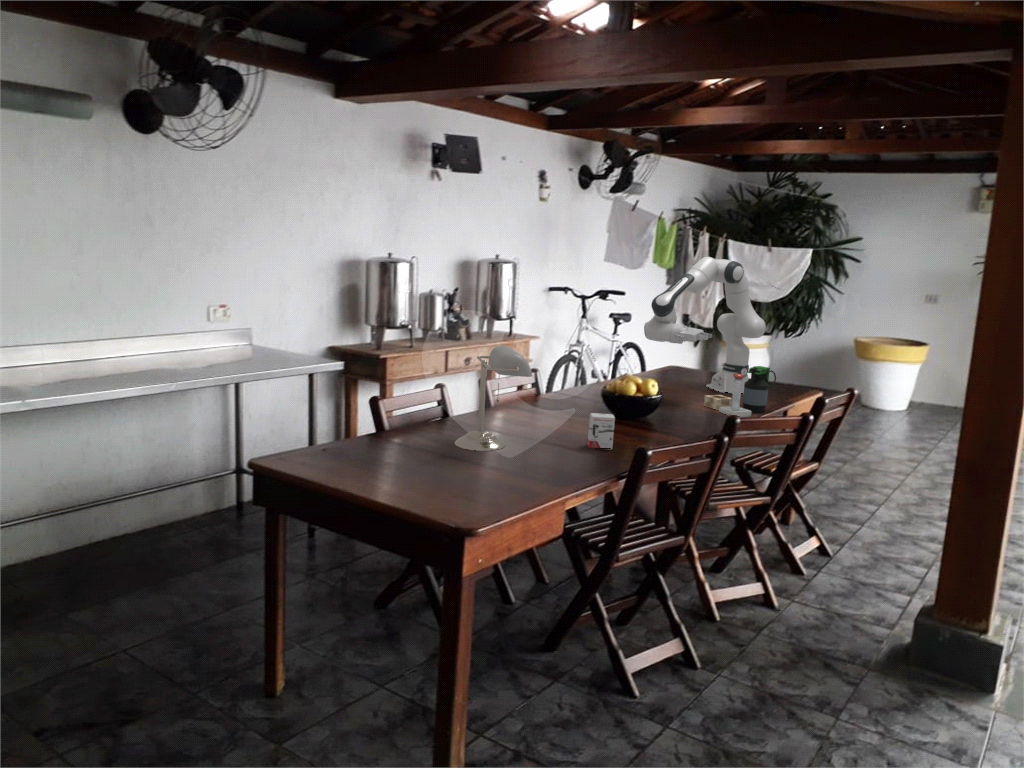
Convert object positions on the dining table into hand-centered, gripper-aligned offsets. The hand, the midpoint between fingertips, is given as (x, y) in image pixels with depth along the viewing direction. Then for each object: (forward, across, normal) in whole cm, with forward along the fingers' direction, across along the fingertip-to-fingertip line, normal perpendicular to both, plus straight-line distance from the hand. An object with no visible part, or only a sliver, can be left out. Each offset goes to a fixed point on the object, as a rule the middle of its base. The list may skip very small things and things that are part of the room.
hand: (709, 337), depth 357 cm
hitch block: (+6, +2, +32) cm, 33 cm away
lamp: (-52, -114, +32) cm, 130 cm away
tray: (+15, -7, +32) cm, 36 cm away
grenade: (+22, +9, +32) cm, 40 cm away
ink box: (-18, -95, +32) cm, 102 cm away
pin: (+15, -7, +31) cm, 35 cm away
